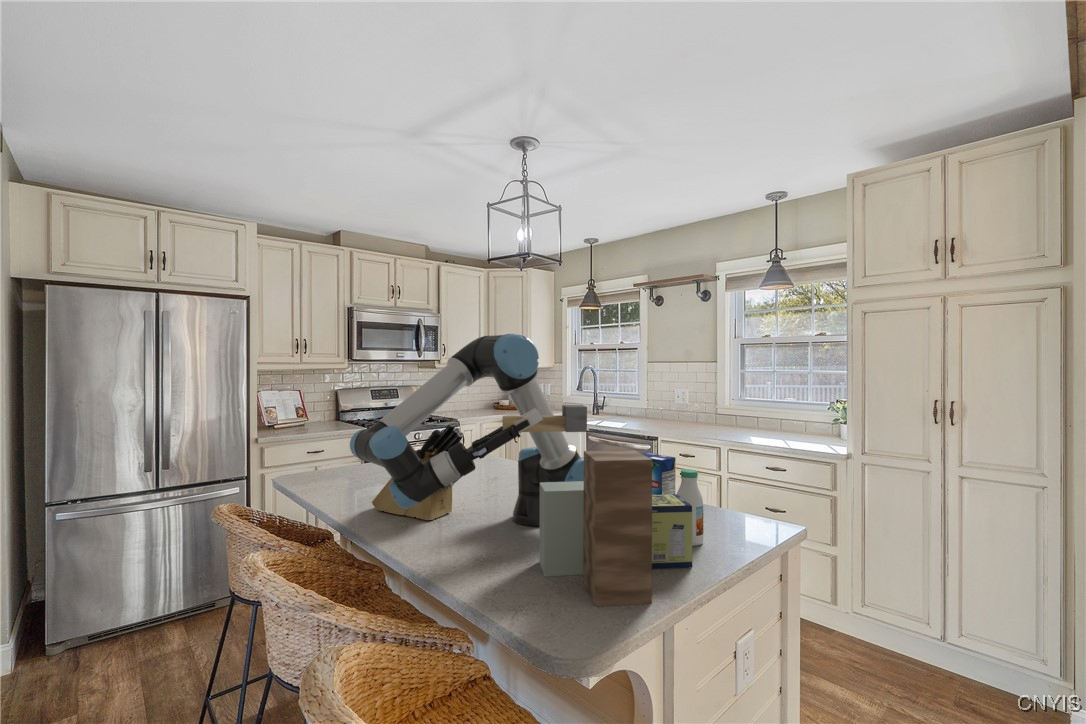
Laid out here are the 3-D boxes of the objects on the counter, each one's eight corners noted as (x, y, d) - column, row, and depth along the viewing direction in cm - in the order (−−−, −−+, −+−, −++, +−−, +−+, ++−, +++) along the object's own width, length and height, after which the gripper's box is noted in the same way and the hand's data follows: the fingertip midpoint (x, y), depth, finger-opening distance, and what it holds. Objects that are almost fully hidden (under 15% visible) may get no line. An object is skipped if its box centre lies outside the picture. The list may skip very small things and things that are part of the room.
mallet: (502, 429, 126) (502, 405, 126) (581, 428, 129) (581, 404, 129) (503, 433, 120) (503, 407, 120) (586, 431, 123) (587, 406, 123)
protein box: (621, 554, 135) (621, 494, 135) (678, 552, 136) (678, 493, 136) (631, 570, 124) (631, 506, 124) (693, 568, 125) (693, 504, 125)
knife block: (453, 527, 156) (453, 425, 156) (370, 510, 173) (371, 419, 173) (475, 517, 166) (475, 422, 166) (395, 502, 183) (395, 416, 183)
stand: (583, 581, 117) (583, 451, 117) (634, 579, 119) (634, 449, 119) (595, 606, 105) (596, 461, 105) (651, 603, 107) (652, 459, 107)
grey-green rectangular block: (539, 561, 129) (539, 482, 129) (589, 559, 131) (590, 481, 131) (544, 576, 120) (544, 491, 120) (598, 573, 122) (598, 489, 122)
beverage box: (661, 536, 148) (661, 460, 148) (632, 526, 157) (632, 454, 157) (675, 531, 153) (675, 457, 153) (646, 522, 161) (646, 452, 161)
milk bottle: (688, 548, 139) (688, 474, 139) (669, 539, 145) (669, 469, 145) (709, 543, 142) (709, 471, 142) (689, 535, 149) (689, 466, 149)
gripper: (462, 469, 130) (542, 422, 133) (461, 485, 114) (551, 431, 117) (448, 444, 130) (527, 397, 132) (444, 456, 113) (535, 402, 116)
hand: (538, 413), depth 125 cm, fingers closed on mallet, 3 cm apart
